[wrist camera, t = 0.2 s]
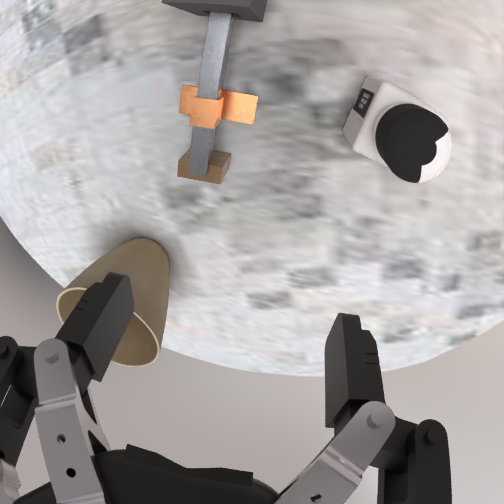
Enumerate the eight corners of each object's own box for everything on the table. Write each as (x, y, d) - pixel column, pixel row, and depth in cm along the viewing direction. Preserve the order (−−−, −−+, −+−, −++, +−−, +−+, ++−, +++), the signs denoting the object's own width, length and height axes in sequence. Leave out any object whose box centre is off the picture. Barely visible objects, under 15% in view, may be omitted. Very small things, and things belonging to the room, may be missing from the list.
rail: (204, -38, 23) (188, -53, 18) (284, -31, 23) (282, -48, 18) (175, 159, 38) (156, 177, 33) (244, 171, 38) (236, 192, 33)
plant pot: (96, 258, 50) (49, 324, 37) (129, 197, 42) (68, 265, 29) (165, 305, 54) (134, 379, 41) (211, 257, 47) (180, 340, 34)
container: (340, 131, 34) (362, 169, 23) (366, 74, 29) (403, 85, 19) (395, 158, 35) (434, 206, 24) (421, 105, 30) (475, 133, 20)
